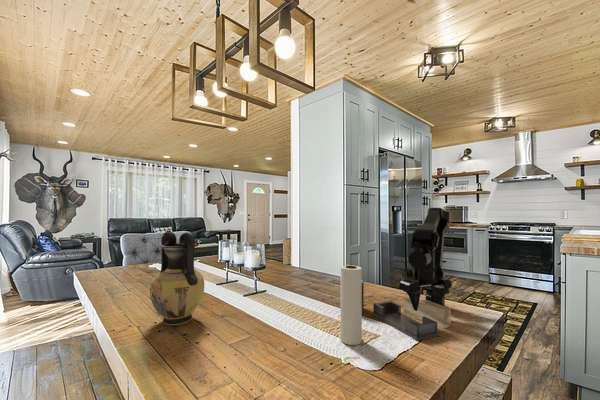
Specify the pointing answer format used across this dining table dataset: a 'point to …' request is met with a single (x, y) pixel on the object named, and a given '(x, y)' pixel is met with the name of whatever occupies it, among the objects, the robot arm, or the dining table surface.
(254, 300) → the dining table surface
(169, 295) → the amphora
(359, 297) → the paper towel roll
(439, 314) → the beige rectangular block
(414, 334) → the bracket
